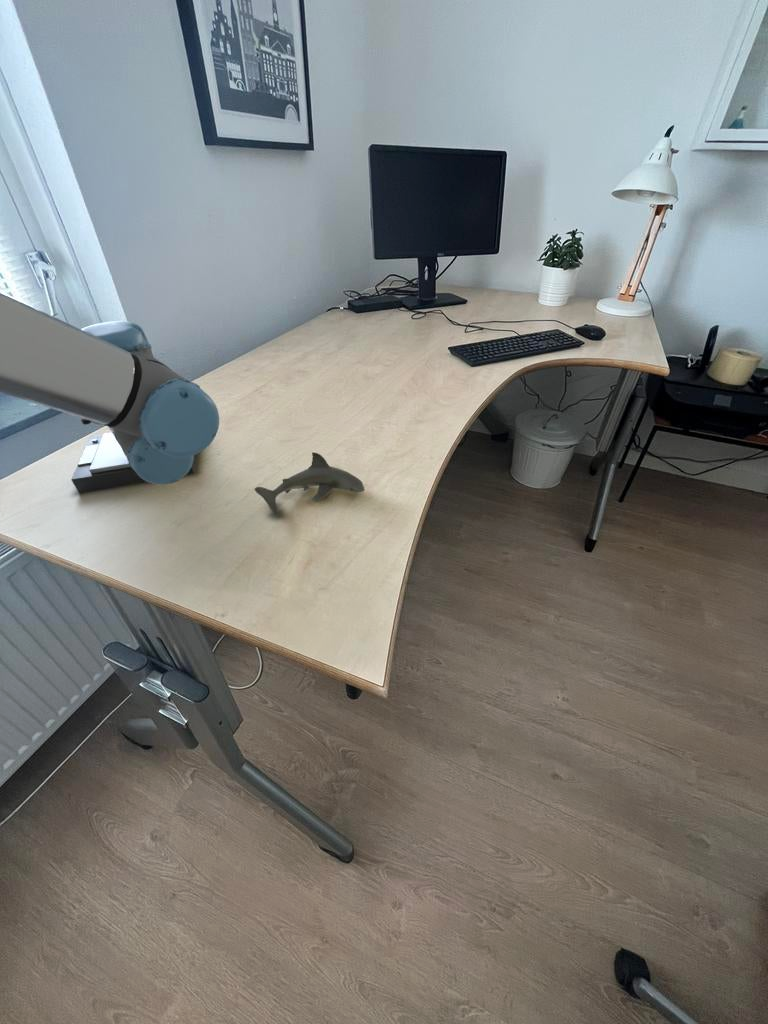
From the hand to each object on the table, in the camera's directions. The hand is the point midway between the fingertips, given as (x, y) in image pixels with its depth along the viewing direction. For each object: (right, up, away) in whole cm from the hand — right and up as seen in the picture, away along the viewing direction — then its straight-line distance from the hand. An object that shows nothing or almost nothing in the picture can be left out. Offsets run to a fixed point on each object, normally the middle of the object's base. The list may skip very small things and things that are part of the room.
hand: (103, 373), depth 80 cm
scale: (+3, -15, +7) cm, 17 cm away
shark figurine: (+40, -22, -2) cm, 46 cm away
